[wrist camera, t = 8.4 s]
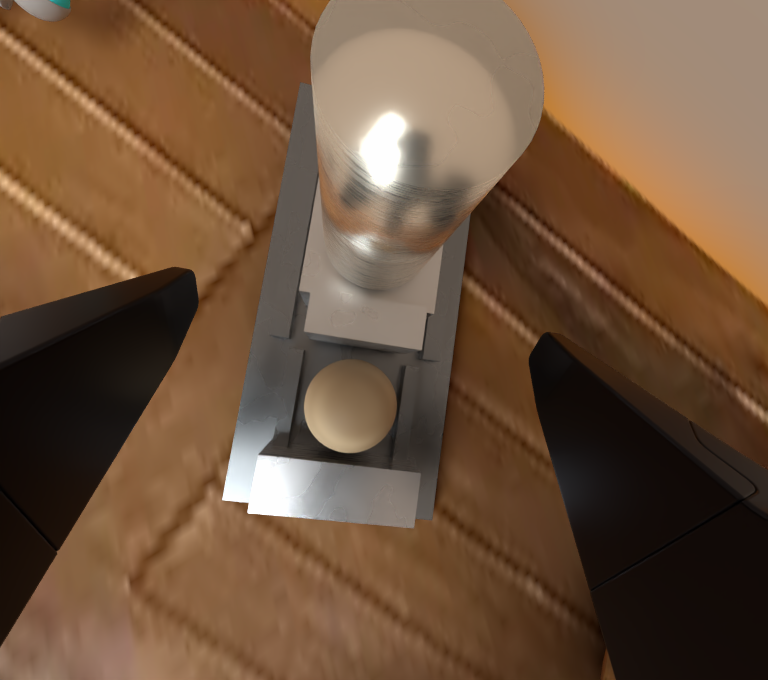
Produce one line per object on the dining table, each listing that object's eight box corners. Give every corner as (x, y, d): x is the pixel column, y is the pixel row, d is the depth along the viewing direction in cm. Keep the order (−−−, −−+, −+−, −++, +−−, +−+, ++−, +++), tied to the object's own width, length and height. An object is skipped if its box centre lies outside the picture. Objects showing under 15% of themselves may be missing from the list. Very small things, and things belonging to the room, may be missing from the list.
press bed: (426, 511, 17) (450, 548, 13) (229, 491, 15) (199, 526, 12) (473, 140, 19) (505, 87, 15) (302, 98, 17) (294, 31, 14)
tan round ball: (335, 458, 15) (336, 486, 12) (291, 388, 15) (278, 394, 12) (404, 412, 16) (424, 424, 12) (361, 344, 16) (369, 337, 12)
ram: (411, 356, 16) (548, 333, 6) (299, 339, 15) (232, 278, 5) (429, 220, 17) (582, -16, 6) (323, 198, 16) (306, -103, 6)
